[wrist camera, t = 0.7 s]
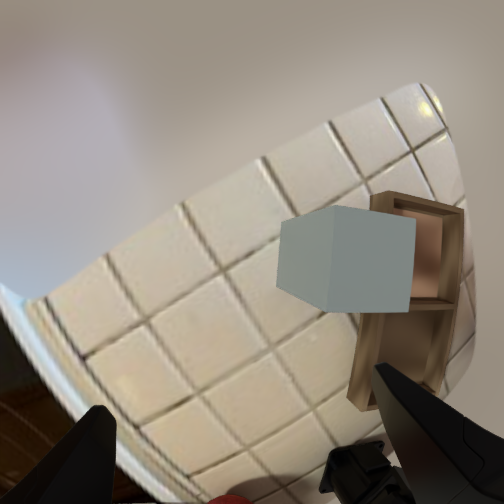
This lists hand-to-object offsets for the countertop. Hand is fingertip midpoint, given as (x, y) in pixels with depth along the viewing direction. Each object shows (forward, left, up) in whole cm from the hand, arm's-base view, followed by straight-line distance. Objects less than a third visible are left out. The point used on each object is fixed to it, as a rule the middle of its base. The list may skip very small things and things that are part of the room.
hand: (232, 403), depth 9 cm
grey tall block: (+5, -7, -15) cm, 17 cm away
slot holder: (+1, -17, -14) cm, 22 cm away
